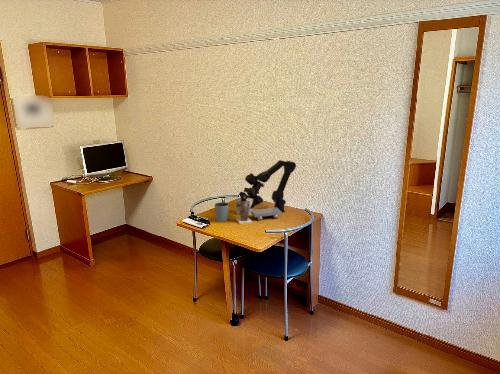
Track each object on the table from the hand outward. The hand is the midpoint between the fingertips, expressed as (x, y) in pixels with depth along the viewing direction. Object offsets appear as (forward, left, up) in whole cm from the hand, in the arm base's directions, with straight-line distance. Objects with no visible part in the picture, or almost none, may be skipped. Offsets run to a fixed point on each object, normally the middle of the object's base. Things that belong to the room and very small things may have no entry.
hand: (245, 207), depth 268 cm
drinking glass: (+15, -7, -10) cm, 20 cm away
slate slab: (-16, -2, -10) cm, 18 cm away
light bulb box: (-4, -17, -10) cm, 20 cm away
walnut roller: (+1, +1, -9) cm, 9 cm away
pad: (+1, +1, -10) cm, 10 cm away
